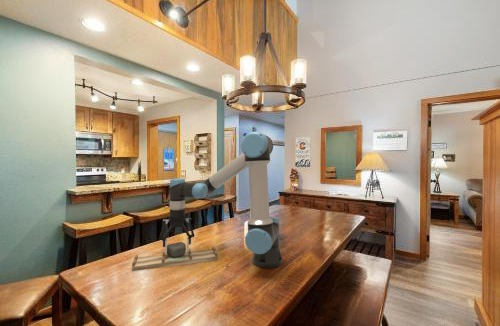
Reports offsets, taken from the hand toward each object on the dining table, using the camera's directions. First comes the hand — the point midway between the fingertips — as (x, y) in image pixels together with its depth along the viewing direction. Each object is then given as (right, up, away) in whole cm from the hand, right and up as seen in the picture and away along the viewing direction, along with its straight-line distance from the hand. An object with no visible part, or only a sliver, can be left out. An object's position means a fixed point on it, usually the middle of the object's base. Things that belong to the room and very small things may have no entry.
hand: (177, 251), depth 121 cm
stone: (-1, -3, +3) cm, 4 cm away
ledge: (0, -5, 0) cm, 5 cm away
